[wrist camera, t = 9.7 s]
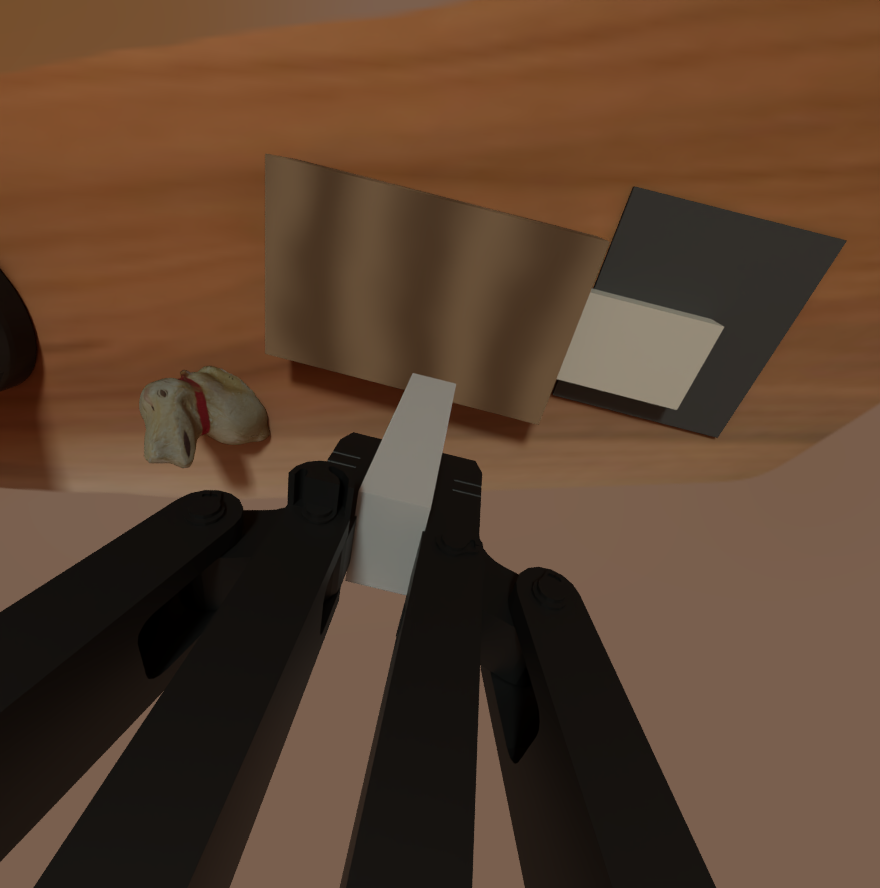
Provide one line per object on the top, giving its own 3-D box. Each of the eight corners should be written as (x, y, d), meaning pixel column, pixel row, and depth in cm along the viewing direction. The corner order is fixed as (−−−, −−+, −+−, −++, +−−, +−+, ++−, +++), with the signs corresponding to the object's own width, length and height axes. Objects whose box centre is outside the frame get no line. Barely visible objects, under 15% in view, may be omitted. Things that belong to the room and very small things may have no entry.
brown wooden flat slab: (289, 337, 34) (265, 353, 30) (295, 158, 27) (265, 153, 24) (535, 401, 33) (538, 424, 30) (597, 236, 27) (609, 241, 24)
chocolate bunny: (241, 351, 35) (154, 402, 26) (277, 435, 39) (211, 503, 30) (185, 361, 36) (84, 412, 28) (225, 441, 40) (147, 508, 31)
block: (550, 368, 32) (552, 377, 30) (580, 285, 29) (585, 291, 27) (667, 398, 32) (676, 410, 30) (711, 319, 28) (724, 326, 27)
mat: (552, 393, 33) (552, 394, 33) (633, 186, 26) (634, 186, 25) (715, 435, 33) (717, 437, 33) (843, 240, 26) (846, 240, 25)
